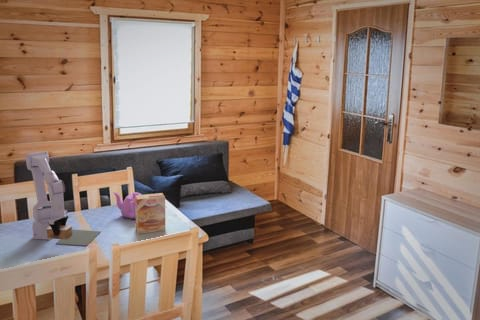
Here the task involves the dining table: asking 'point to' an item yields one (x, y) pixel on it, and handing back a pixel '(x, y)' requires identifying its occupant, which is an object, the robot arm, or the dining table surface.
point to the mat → (80, 238)
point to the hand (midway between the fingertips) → (59, 233)
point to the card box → (64, 232)
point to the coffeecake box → (150, 213)
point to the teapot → (127, 205)
